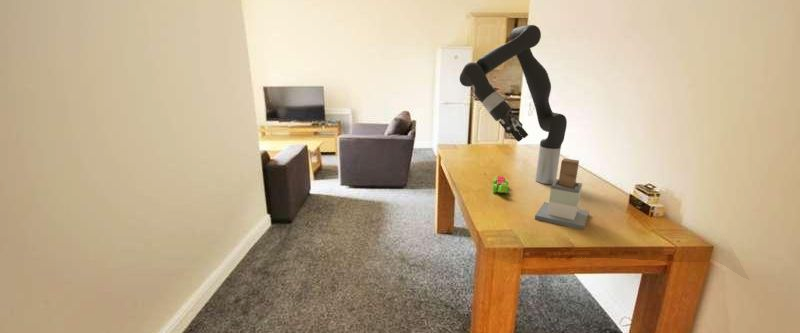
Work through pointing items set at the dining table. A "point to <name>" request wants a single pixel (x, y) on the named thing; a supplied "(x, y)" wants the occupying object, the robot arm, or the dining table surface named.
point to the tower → (563, 207)
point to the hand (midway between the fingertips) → (523, 138)
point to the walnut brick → (568, 173)
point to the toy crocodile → (500, 185)
